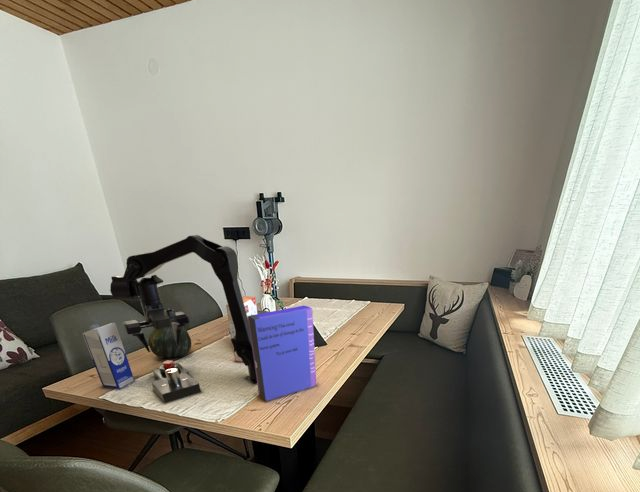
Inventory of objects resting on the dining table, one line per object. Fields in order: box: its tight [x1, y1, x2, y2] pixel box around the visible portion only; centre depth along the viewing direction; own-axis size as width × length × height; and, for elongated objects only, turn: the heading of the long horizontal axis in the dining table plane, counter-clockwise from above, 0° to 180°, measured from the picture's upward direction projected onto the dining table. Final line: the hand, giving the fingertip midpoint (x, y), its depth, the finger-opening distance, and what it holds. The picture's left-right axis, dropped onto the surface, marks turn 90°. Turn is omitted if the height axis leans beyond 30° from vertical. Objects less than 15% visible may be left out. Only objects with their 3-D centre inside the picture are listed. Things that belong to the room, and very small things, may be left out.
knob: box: [165, 368, 181, 385], centre depth 109 cm, size 4×4×4 cm
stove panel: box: [150, 372, 202, 404], centre depth 111 cm, size 12×11×3 cm
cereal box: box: [248, 305, 318, 402], centre depth 103 cm, size 17×5×24 cm, turn 124°
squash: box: [148, 323, 192, 359], centre depth 137 cm, size 14×15×15 cm
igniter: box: [162, 360, 175, 368], centre depth 120 cm, size 3×3×2 cm
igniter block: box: [152, 362, 190, 380], centre depth 121 cm, size 10×9×4 cm
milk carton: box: [81, 322, 135, 390], centre depth 113 cm, size 7×7×20 cm
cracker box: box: [225, 295, 258, 363], centre depth 132 cm, size 14×6×21 cm, turn 168°
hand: (163, 348), depth 116 cm, fingers open, 9 cm apart
